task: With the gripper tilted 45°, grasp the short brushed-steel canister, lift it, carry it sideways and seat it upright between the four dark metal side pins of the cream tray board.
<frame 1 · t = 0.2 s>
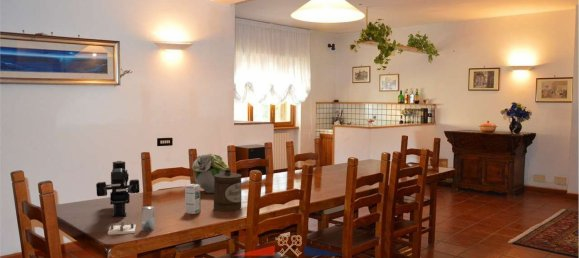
hand: (117, 192, 211), 17 cm above the table, tool horizontal, fingers open, 9 cm apart
steel canister: (148, 229, 212), on the table
syrup box: (192, 212, 245), on the table
flower arrangement: (211, 192, 300), on the table
wooden container: (227, 208, 256), on the table
pin tray: (122, 230, 210), on the table
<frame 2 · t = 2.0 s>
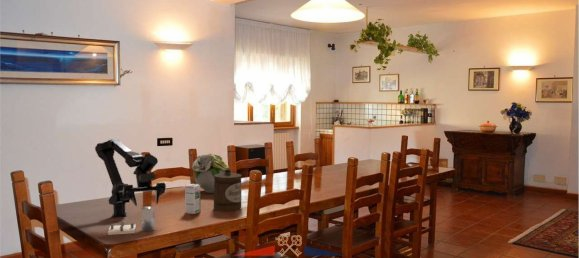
hand: (146, 204, 214), 11 cm above the table, tool tilted 45°, fingers open, 9 cm apart
nothing on the table moved.
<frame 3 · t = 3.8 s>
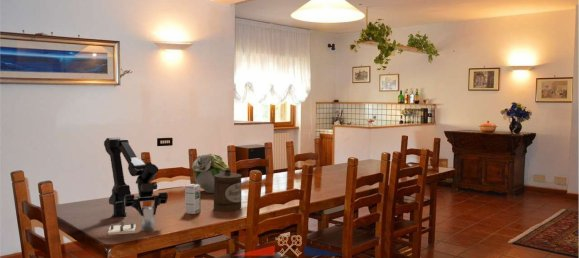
hand: (148, 215, 210), 7 cm above the table, tool tilted 45°, fingers closed on steel canister, 5 cm apart
steel canister: (148, 229, 212), on the table, touching gripper
everything else where it was.
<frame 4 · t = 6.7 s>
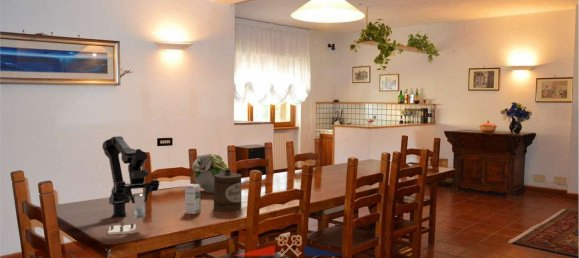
hand: (139, 202, 209), 13 cm above the table, tool tilted 45°, fingers closed on steel canister, 5 cm apart
steel canister: (139, 216, 211), point 6 cm above the table, touching gripper
everything else where it was.
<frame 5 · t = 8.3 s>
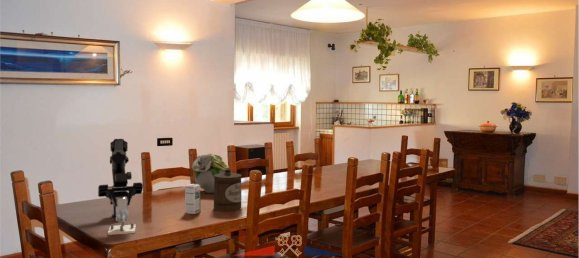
hand: (122, 205, 208), 12 cm above the table, tool tilted 45°, fingers closed on steel canister, 5 cm apart
steel canister: (122, 219, 209), point 5 cm above the table, touching gripper
everything else where it was.
when the fingers open (9 cm above the table, at t = 9.5 s): steel canister stays where it is, resting on pin tray.
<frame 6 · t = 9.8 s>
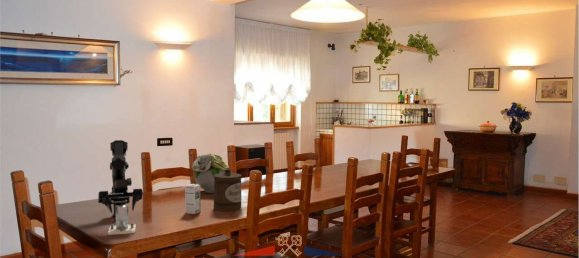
hand: (122, 211, 208), 9 cm above the table, tool tilted 45°, fingers open, 9 cm apart
steel canister: (122, 228, 210), point 1 cm above the table, touching pin tray
everything else where it was.
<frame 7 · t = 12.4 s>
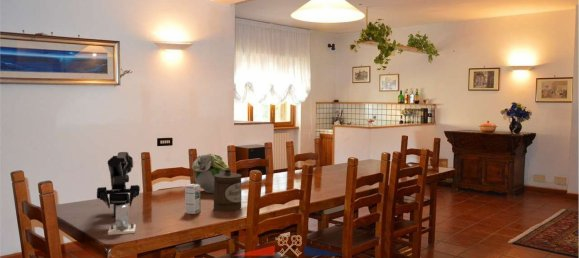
hand: (120, 207, 216), 9 cm above the table, tool tilted 45°, fingers open, 9 cm apart
nothing on the table moved.
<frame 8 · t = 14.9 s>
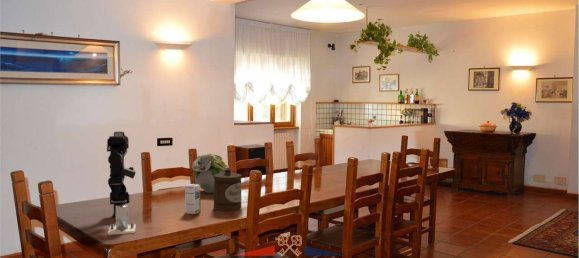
hand: (116, 196, 220), 13 cm above the table, tool pointing down, fingers open, 9 cm apart
nothing on the table moved.
at the end: steel canister 0.1 cm off-centre on the pin tray, point 1.0 cm above the pin tray's base; steel canister tilted 0°; the gripper is holding nothing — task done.
